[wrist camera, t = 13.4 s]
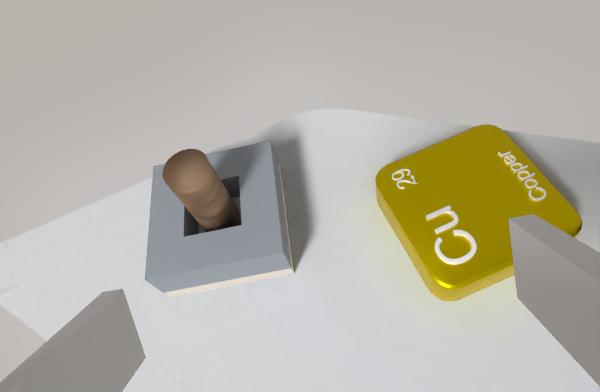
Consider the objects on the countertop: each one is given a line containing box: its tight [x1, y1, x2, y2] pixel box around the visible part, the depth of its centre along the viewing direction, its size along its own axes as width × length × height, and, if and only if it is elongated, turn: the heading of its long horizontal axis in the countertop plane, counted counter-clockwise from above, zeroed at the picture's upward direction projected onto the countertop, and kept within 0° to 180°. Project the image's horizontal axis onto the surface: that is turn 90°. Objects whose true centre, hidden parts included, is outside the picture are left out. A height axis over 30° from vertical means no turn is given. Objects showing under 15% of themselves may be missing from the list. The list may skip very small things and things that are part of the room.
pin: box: [162, 149, 242, 232], centre depth 44 cm, size 4×4×11 cm
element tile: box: [376, 125, 582, 301], centre depth 43 cm, size 15×15×5 cm
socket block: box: [145, 141, 294, 297], centre depth 47 cm, size 14×14×6 cm
